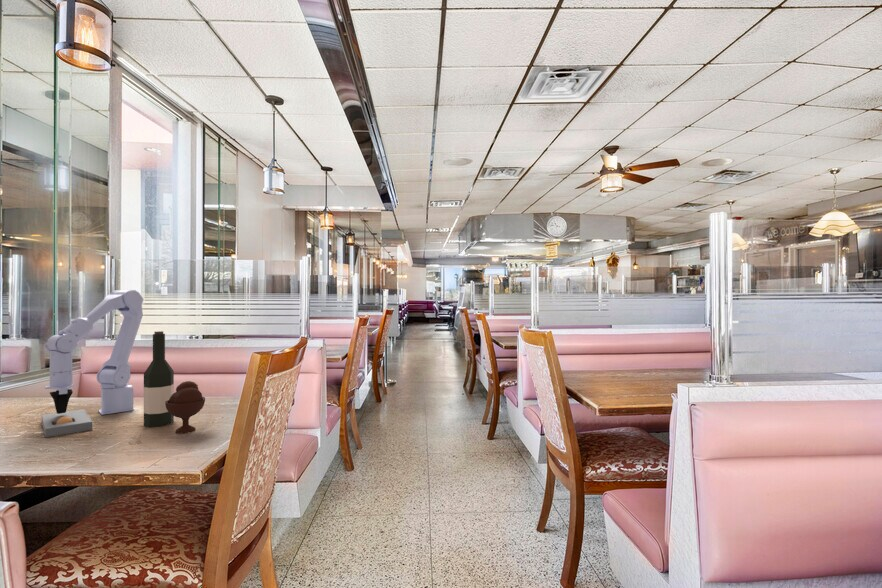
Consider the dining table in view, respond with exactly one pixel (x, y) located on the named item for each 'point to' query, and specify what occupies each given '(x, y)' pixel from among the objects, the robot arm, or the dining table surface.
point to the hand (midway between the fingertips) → (61, 413)
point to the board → (79, 423)
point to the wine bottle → (158, 386)
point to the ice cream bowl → (185, 404)
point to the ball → (64, 420)
